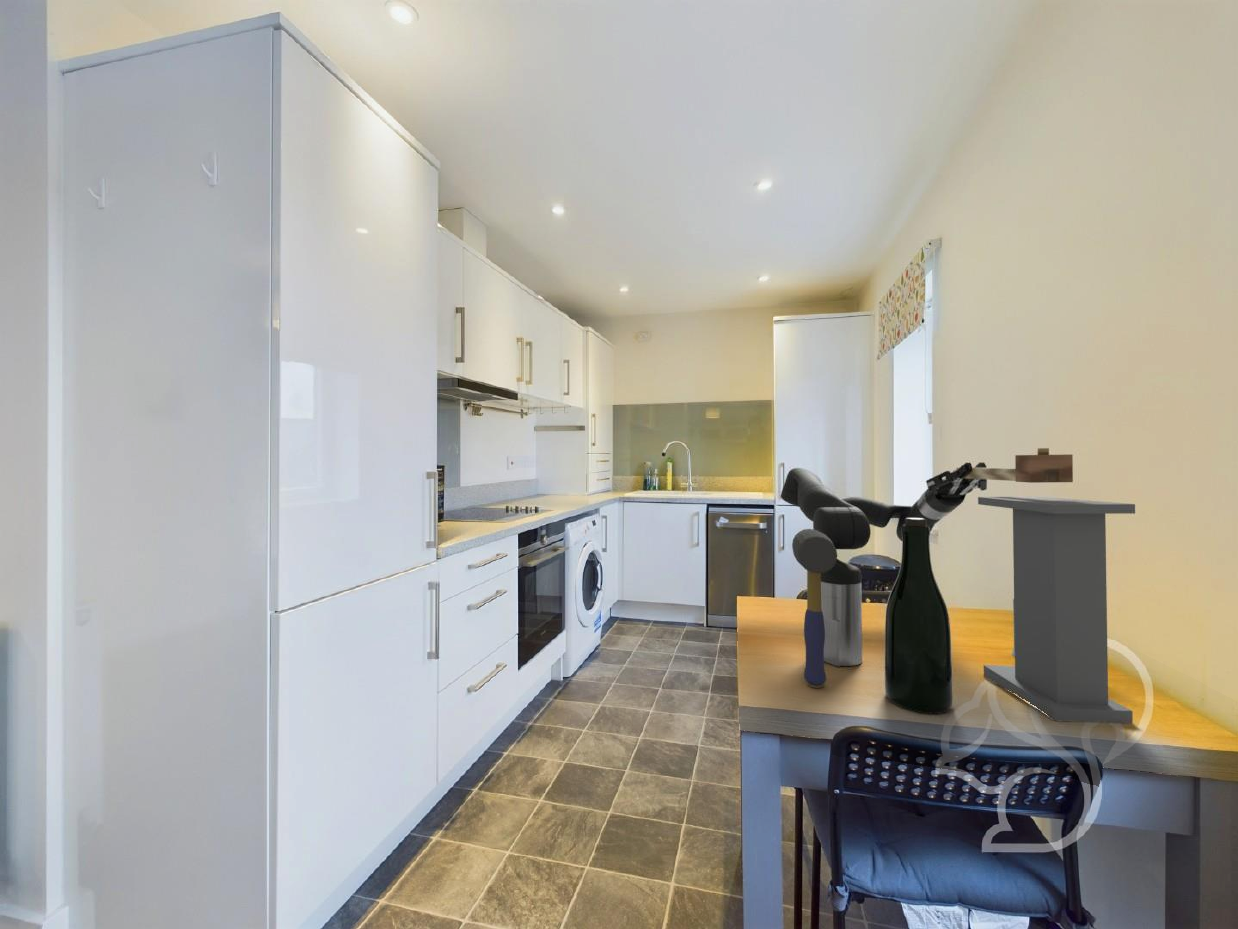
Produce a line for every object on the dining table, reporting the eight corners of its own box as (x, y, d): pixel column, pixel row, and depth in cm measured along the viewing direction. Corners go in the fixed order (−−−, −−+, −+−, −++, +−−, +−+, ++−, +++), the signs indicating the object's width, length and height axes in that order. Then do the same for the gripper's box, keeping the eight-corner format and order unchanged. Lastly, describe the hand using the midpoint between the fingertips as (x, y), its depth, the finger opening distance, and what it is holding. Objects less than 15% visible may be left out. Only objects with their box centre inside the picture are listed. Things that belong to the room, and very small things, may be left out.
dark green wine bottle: (944, 693, 92) (942, 515, 93) (960, 720, 83) (957, 521, 83) (881, 685, 96) (879, 514, 96) (889, 710, 86) (886, 520, 86)
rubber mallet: (842, 702, 89) (839, 535, 89) (797, 698, 91) (795, 534, 91) (830, 674, 101) (828, 527, 101) (791, 671, 103) (789, 526, 103)
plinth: (1138, 726, 80) (1135, 504, 80) (1058, 723, 81) (1055, 504, 81) (1043, 674, 100) (1041, 496, 100) (980, 673, 101) (978, 497, 101)
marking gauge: (1072, 482, 89) (1072, 447, 89) (1031, 482, 90) (1030, 448, 90) (977, 477, 116) (977, 451, 116) (946, 477, 117) (946, 451, 117)
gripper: (973, 513, 124) (1016, 480, 109) (915, 513, 125) (949, 480, 110) (964, 486, 127) (1004, 450, 112) (907, 486, 128) (939, 451, 114)
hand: (976, 465), depth 111 cm, fingers closed on marking gauge, 2 cm apart
